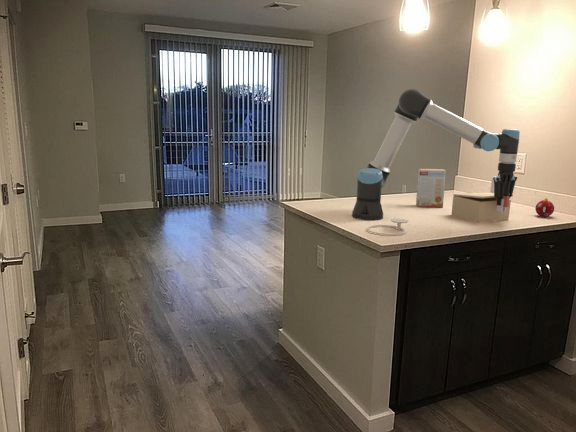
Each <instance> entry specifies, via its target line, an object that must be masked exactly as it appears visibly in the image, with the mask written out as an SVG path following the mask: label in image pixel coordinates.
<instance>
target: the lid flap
mask: <svg viewBox="0 0 576 432" xmlns="http://www.w3.org/2000/svg"><path fill="white" fill-rule="evenodd" d="M452 196H463V197H474V198H494V193H490V192H483V191H482V192H481V191H480V192H469V193H468V192H467V193H466V192H464V193H463V192H462V193H453V195H452ZM513 196H514V195H513V194H512V197H513ZM502 199H504V203H503V207H509V200H510V199H509V196H503V198H502ZM496 206H497V203H496Z"/></svg>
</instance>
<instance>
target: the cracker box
mask: <svg viewBox="0 0 576 432" xmlns="http://www.w3.org/2000/svg"><path fill="white" fill-rule="evenodd" d="M417 171H418V173H417V185H416V196H415V198H416V199H415V206H417V207H418V208H441V209H442V208H444V198H445V188H446V187H445V186H446V175H447V173H446V172H447V170H445V169H441V168H439V169H437V168H418V170H417Z"/></svg>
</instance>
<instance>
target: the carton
mask: <svg viewBox="0 0 576 432" xmlns="http://www.w3.org/2000/svg"><path fill="white" fill-rule="evenodd" d="M452 196H453V195H452ZM511 201H512V200H511V199H509V207H506V212H502V213H501V212H497V206H496V203H497V198H496V197H494V198H474V197H463V196H453V197H452V204H451V206H452V207H451V216H453V217H458V218H461V219H463V220H467V221H471V222H475V223H478V224H479V223H487V222H499V221H509V218H510V209H511Z"/></svg>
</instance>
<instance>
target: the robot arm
mask: <svg viewBox="0 0 576 432" xmlns="http://www.w3.org/2000/svg"><path fill="white" fill-rule="evenodd" d="M393 113H394V119H393V121H392V123H391V125H390V127H389V129H388V131H387V133H386V135H385V137H384V138H383V141H382V144H381V145H380V147H379V150H378V152H377V153H376V156H375V158H374V159H373V160H372V161H369V163H368V165H367V167H365V168H362V169H359V171H358V173H357V184H356V200H355V204H354V206H353V209H352V213H351V217H352V216H353V217H352V218H354V217H355V219H357V218H358V219H359V220H363V219H364V220H365V221H379V220H382V219H384V210H383V208H382V203H381V199H382V189H383V188H384V187H385V185H386V183H387V179H388V178H389V176H390V174H391V170H390V169H391V165H392V163H393V162H394V160H395V157H396V155H397V153H398V152H399V149H400V147H401V145H402V143H403V141H404V139H405V138H406V135H407V133H408V132H409V129H410V128H411V126H412V124H415V123H417V121H418V119H420V120H422V119H425V120H427V121H429V122H430V123H432V124H434V125H436V126H438V127H440V128H442V129H444V130H446V131H448V132H449V133H452V134H453V135H454V136H455V135H456V136H458V137H460V138H462V139H463V140H466V141H467V142H469V143H471V144H472V145H473V148H474V149H479V150H481V149H482V150H484V151H485V152H491V151H495V150H499V157H498V165H497V171H498V173H497V175H496V176H497V177H494V178H493V180H494V197H496V198H497V212H501V213H502V212H506V207H503V203H504V199H502V198H503V196H509V200H511V198H512V197H513V196H512V195H513V194H514V190H515V185H516V182H517V180H518V176H515V175H514V172H516V169H517V167H516V166H517V165H516V162H517V157H518V152H519V143H520V130H519V129H517V128H515V129H514V128H503V129H502V131H501V132H498V133H497V132H496V133H495V132H489V131H488V130H486V129H484V128H482V127H480V126H478V125H476V124H474V123H472V122H471V121H468V120H466V119H464V118H463V117H461V116H458V115H457V114H455V113H453V112H451V111H449V110H448V109H445V108H443V107H441V106H439V105H437V104H436V103H433V100H432V99H431V98H429V97H428V96H425V95H424V94H423V93H422V92H421V91H419V90H418V89H415V88H414V89H413V88H409V89H406V90H404V91H403V92H402V93H401V94H400V95H399V98H398V104H397V105H396V108H395V110H394V111H393ZM502 182H503V183H502Z"/></svg>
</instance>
